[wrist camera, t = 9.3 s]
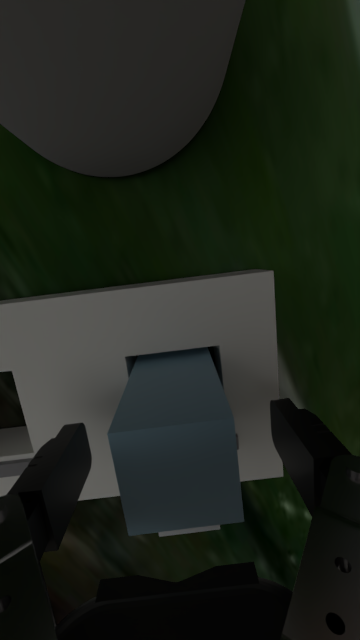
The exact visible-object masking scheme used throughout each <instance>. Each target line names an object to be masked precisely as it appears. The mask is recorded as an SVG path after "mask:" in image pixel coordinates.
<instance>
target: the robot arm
mask: <svg viewBox="0 0 360 640" xmlns="http://www.w3.org/2000/svg"><path fill="white" fill-rule="evenodd" d="M270 418H271V434H272V440H273V443H274V446H275V449H276V451H277V452H278V454H279V456H280V458H281V460H282V462H283V464H284V465H285V467H286V469H287V471H288V473H289V475H290V477H291V478H292V480H293V482H294V484H295V486H296V488H297V490H298V491H299V493H300V495H301V497H302V499H303V501H304V503H305V504H306V506H307V508H308V510H309V512H310V514H311V516H312V520H311V524H310V528H309V532H308V536H307V540H306V543H305V547H304V551H303V555H302V559H301V563H300V566H299V570H298V574H297V578H296V582H295V586H294V589H293V592H292V591H291V590H289V589H288V588H286V587H284V586H282V585H280V584H278V583H276V582H273V581H270V580H267V579H264V578H259V577H258V576H257V572H256V568H255V565H254V562H248V563H240V564H231V565H223V566H215V567H213V568H211V569H208V570H206V571H204V572H201V573H199V574H197V575H194V576H192V577H190V578H188V579H185V580H183V581H180V582H169V581H164V580H159V579H154V578H149V577H144V576H139V575H137V576H128V577H120V578H111V579H102V580H100V584H99V588H98V592H97V596H96V597H95V598H92V599H90V600H89V601H87V602H85V603H83V604H82V605H80V606H79V607H78V608H76V609H75V610H73V611H72V612H71V613H70V614H69V615H67V616H66V617H65V618H64V619H63V620H62V621H61V622H60V623H59V624H58V625H57V624H56V620H55V616H54V613H53V609H52V605H51V601H50V598H49V594H48V590H47V587H46V583H45V579H44V576H43V572H42V568H41V565H40V560H41V557H42V555H43V553H44V552H48V551H57V550H58V549H59V546H60V544H61V541H62V539H63V536H64V534H65V531H66V529H67V526H68V524H69V521H70V519H71V517H72V514H73V512H74V509H75V507H76V504H77V502H78V499H79V497H80V494H81V492H82V489H83V487H84V484H85V482H86V479H87V477H88V474H89V472H90V469H91V464H92V455H91V450H90V445H89V441H88V436H87V432H86V427H85V425H84V423H74V424H66V425H64V426H63V427H62V428H61V430H60V431H59V433H58V434H57V436H56V437H55V438H51V439H50V440H49V441H48V442H47V443H45V444H44V445H43V446H42V447H40V449H39V450H38V452H37V453H36V454H35V456H34V459H32V460H31V461H30V463H29V464H28V467H26V468H25V470H24V471H23V472H22V474H21V475H20V477H19V478H18V479H17V481H16V482H15V484H14V485H13V486H12V488H11V489H10V491H9V492H8V493H7V495H4V496H1V497H0V640H360V457H359V456H355V455H352V454H351V453H350V452H349V451H348V450H347V449H346V447H345V446H344V445H343V444H342V443H341V442H340V441H339V440H338V439H337V438H336V437H335V435H334V434H333V433H332V432H330V431H329V429H328V428H327V427H326V426H325V425H323V422H322V421H321V420H320V419H319V418H318V417H317V416H316V415H315V414H313V413H311V412H310V411H308V410H306V409H298V408H297V407H296V406H295V405H294V403H293V402H292V401H291V400H290V399H289V398H285V399H277V400H271V401H270Z"/></svg>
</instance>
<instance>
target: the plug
mask: <svg viewBox="0 0 360 640" xmlns="http://www.w3.org/2000/svg"><path fill="white" fill-rule="evenodd" d="M107 435H108V440H109V445H110V450H111V454H112V459H113V464H114V468H115V473H116V478H117V483H118V487H119V492H120V497H121V501H122V506H123V511H124V516H125V520H126V525H127V530H128V534H129V536H131V535H139V534H148V533H156V532H159V537H161V536H169V535H177V534H185V533H194V532H202V531H210V530H218V529H220V525H221V524H229V523H237V522H244V516H243V505H242V495H241V485H240V475H239V464H238V454H237V444H236V434H235V424H234V417H233V414H232V411H231V409H230V406H229V403H228V401H227V398H226V395H225V393H224V390H223V387H222V384H221V382H220V379H219V376H218V374H217V371H216V368H215V366H214V363H213V360H212V358H211V355H210V352H209V350H208V347H201V348H193V349H185V350H177V351H168V352H160V353H152V354H144V355H138V357H137V359H136V362H135V364H134V367H133V369H132V372H131V374H130V377H129V380H128V382H127V385H126V387H125V390H124V392H123V395H122V397H121V400H120V402H119V405H118V408H117V410H116V413H115V415H114V418H113V420H112V423H111V425H110V428H109V430H108V433H107Z"/></svg>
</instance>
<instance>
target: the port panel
mask: <svg viewBox="0 0 360 640" xmlns="http://www.w3.org/2000/svg"><path fill="white" fill-rule="evenodd" d="M210 346H214V356H215V366H216V371H217V374H218V376H219V379H220V382H221V384H222V387H223V390H224V393H225V395H226V398H227V401H228V403H229V406H230V409H231V411H232V414H233V417H234V424H235V434H236V444H237V454H238V464H239V475H240V481H249V480H257V479H265V478H274V477H282V476H283V462H282V460H281V458H280V456H279V454H278V452H277V451H276V449H275V446H274V443H273V440H272V434H271V418H270V401H271V400H277V399H280V397H279V376H278V355H277V334H276V313H275V292H274V271H271V270H260V269H252V270H244V271H236V272H228V273H220V274H212V275H204V276H196V277H188V278H180V279H171V280H163V281H155V282H147V283H139V284H131V285H123V286H115V287H107V288H99V289H91V290H83V291H74V292H66V293H58V294H50V295H42V296H34V297H26V298H18V299H10V300H2V301H0V372H4V371H12V373H13V377H14V380H15V384H16V388H17V392H18V395H19V399H20V403H21V406H22V410H23V414H24V418H25V421H26V425H27V426H21V427H13V428H5V429H0V497H1V496H4V495H7V493H8V492H9V491H10V489H11V488H12V486H13V485H14V484H15V482H16V481H17V479H18V478H19V477H20V475H21V474H22V472H23V471H24V470H25V468H26V467H28V464H29V463H30V461H31V460H32V459H34V456H35V454H36V453H37V452H38V450H39V449H40V447H42V446H43V445H44V444H45V443H47V442H48V441H49V440H50V439H51V438H55V437H56V436H57V434H58V433H59V431H60V430H61V428H62V427H63V426H64V425H66V424H74V423H84V425H85V427H86V432H87V436H88V441H89V445H90V450H91V455H92V464H91V469H90V472H89V474H88V477H87V479H86V482H85V484H84V487H83V489H82V492H81V494H80V497H79V499H78V501H79V500H88V499H96V498H104V497H113V496H120V492H119V487H118V483H117V478H116V473H115V468H114V464H113V459H112V454H111V450H110V445H109V440H108V435H107V433H108V430H109V428H110V425H111V423H112V420H113V418H114V415H115V413H116V410H117V408H118V405H119V402H120V400H121V397H122V395H123V392H124V390H125V387H126V385H127V382H128V380H129V377H130V374H131V372H132V369H133V367H134V364H135V362H136V355H144V354H152V353H160V352H168V351H177V350H185V349H193V348H201V347H210Z"/></svg>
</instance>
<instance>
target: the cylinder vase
mask: <svg viewBox="0 0 360 640" xmlns="http://www.w3.org/2000/svg"><path fill="white" fill-rule="evenodd" d="M244 4H245V0H0V124H1V125H2V126H4V127H5V128H6V129H8V130H9V131H10V132H11V133H13V134H14V135H15V136H16V137H18V138H19V139H20V140H22V141H23V142H24V143H25V144H27V145H28V146H29V147H30V148H32V149H33V150H34V151H36V152H37V153H39V154H40V155H41V156H43V157H45V158H46V159H48V160H50V161H51V162H53V163H55V164H57V165H59V166H61V167H64V168H66V169H69V170H72V171H74V172H78V173H81V174H86V175H91V176H98V177H121V176H128V175H133V174H137V173H140V172H143V171H146V170H149V169H151V168H154V167H156V166H158V165H160V164H161V163H163V162H165V161H166V160H168V159H170V158H171V157H172V156H174V155H175V154H176V153H178V152H179V151H180V150H181V149H182V148H183V147H185V146H186V145H187V144H188V143H189V142H190V140H191V139H192V138H193V137H194V136H195V135H196V134H197V132H198V131H199V130H200V128H201V127H202V125H203V124H204V122H205V121H206V119H207V118H208V116H209V114H210V112H211V111H212V109H213V107H214V105H215V103H216V100H217V98H218V95H219V93H220V90H221V87H222V84H223V81H224V78H225V74H226V70H227V67H228V63H229V59H230V56H231V52H232V48H233V45H234V41H235V37H236V33H237V30H238V26H239V22H240V19H241V15H242V11H243V8H244Z"/></svg>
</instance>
